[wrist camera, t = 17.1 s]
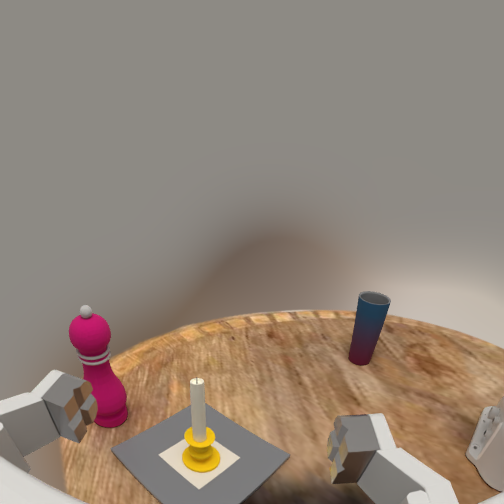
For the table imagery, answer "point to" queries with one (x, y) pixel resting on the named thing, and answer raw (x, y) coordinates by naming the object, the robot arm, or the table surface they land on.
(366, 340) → the cup
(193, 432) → the candle
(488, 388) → the table surface
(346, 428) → the robot arm
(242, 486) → the tile
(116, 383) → the pepper mill
